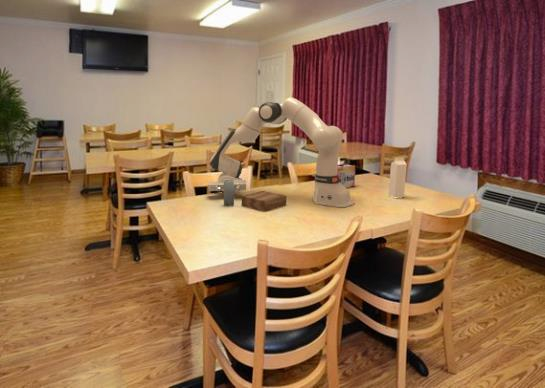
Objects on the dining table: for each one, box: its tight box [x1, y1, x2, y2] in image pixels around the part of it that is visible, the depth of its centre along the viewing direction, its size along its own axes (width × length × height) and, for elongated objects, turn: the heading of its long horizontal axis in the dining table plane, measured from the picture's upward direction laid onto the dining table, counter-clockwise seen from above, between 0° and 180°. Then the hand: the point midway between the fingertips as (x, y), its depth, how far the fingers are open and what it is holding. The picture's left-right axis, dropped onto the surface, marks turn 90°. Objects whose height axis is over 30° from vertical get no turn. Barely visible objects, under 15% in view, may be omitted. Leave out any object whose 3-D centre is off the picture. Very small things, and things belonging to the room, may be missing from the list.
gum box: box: [337, 163, 356, 188], centre depth 237 cm, size 24×8×14 cm, turn 123°
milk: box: [388, 157, 408, 197], centre depth 213 cm, size 6×6×22 cm
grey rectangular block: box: [223, 181, 235, 207], centre depth 196 cm, size 5×5×12 cm
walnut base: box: [241, 190, 287, 213], centre depth 196 cm, size 16×16×5 cm
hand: (228, 189), depth 203 cm, fingers open, 8 cm apart
